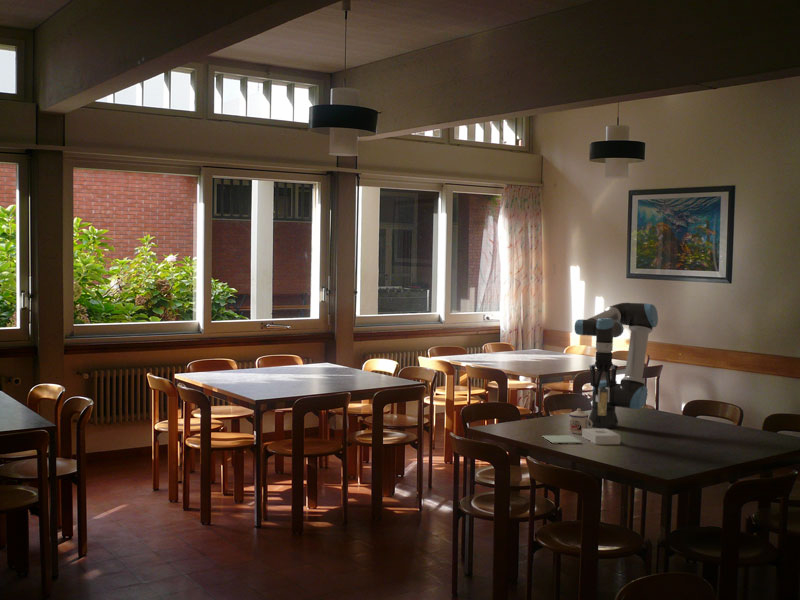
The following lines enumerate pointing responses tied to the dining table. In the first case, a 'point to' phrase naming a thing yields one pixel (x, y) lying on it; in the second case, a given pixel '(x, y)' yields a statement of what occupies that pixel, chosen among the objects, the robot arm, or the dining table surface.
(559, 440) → the mat
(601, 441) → the white flat block
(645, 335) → the robot arm
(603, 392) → the yellow tall cylinder
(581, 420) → the teacup with lid
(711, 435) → the dining table surface
